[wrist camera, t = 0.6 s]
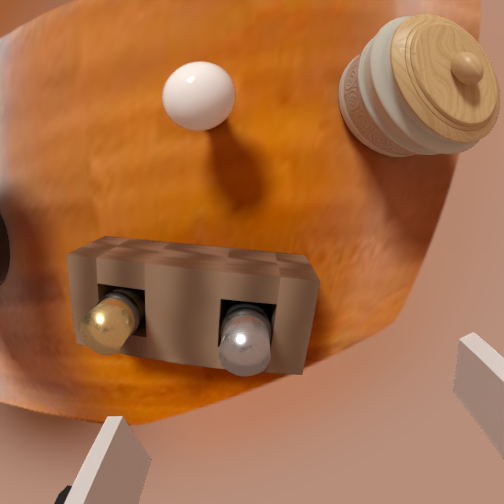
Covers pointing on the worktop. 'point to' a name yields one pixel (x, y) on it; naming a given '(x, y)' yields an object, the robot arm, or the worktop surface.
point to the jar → (420, 89)
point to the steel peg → (245, 338)
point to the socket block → (197, 297)
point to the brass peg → (113, 320)
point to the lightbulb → (198, 96)
